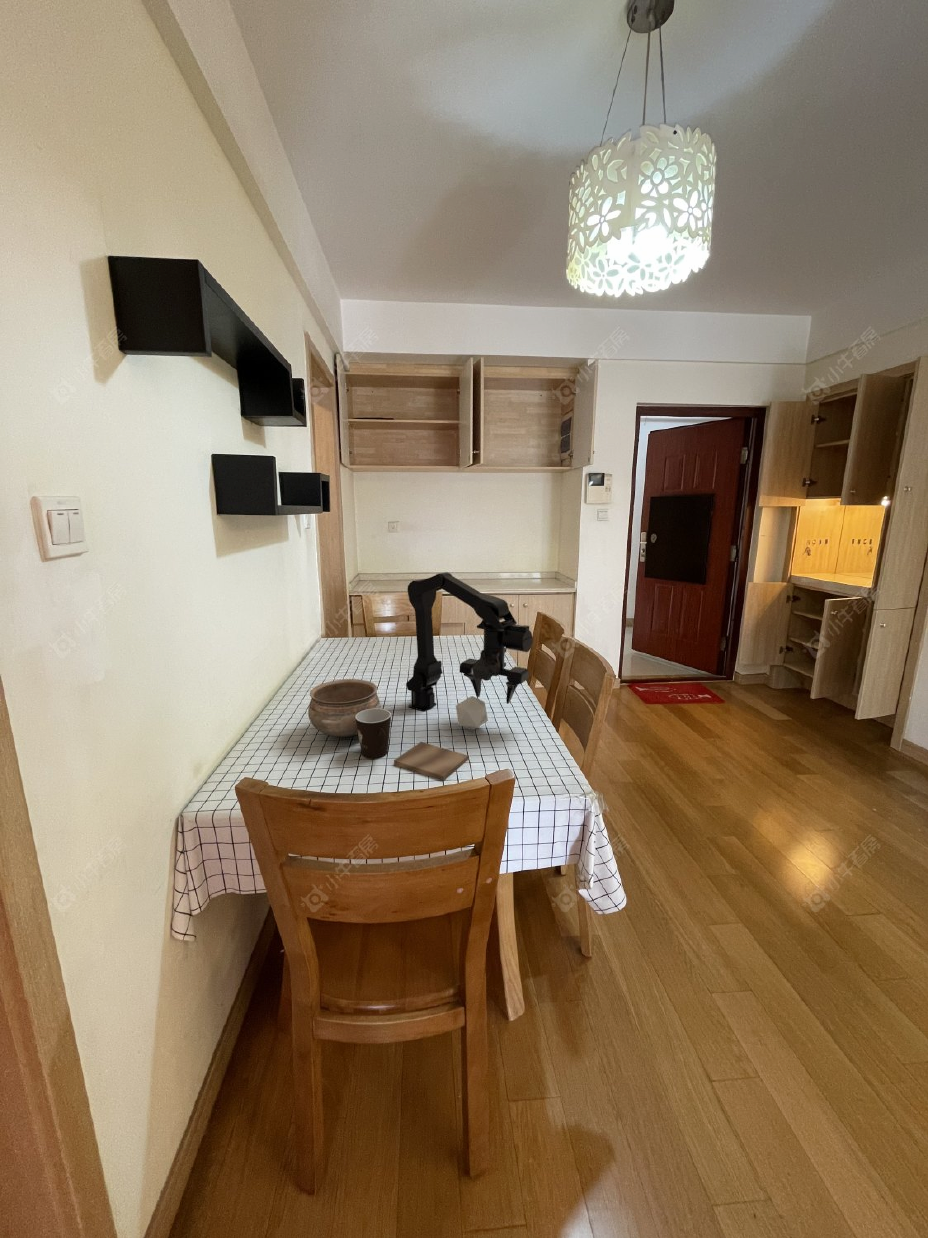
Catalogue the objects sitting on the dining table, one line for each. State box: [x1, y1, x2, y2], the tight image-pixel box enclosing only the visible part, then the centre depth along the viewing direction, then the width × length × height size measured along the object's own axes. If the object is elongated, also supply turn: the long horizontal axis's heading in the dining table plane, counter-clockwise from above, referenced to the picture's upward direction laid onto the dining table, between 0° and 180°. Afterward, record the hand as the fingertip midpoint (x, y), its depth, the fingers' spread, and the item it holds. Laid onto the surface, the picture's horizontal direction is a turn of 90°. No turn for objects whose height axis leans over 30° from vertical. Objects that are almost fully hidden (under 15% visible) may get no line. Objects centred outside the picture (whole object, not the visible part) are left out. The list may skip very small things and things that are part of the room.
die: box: [455, 696, 489, 731], centre depth 132 cm, size 8×9×10 cm
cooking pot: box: [307, 678, 382, 739], centre depth 130 cm, size 25×19×12 cm
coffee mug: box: [355, 708, 392, 760], centre depth 118 cm, size 12×9×10 cm
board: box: [393, 741, 469, 782], centre depth 116 cm, size 14×11×1 cm
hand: (492, 700), depth 134 cm, fingers open, 9 cm apart
